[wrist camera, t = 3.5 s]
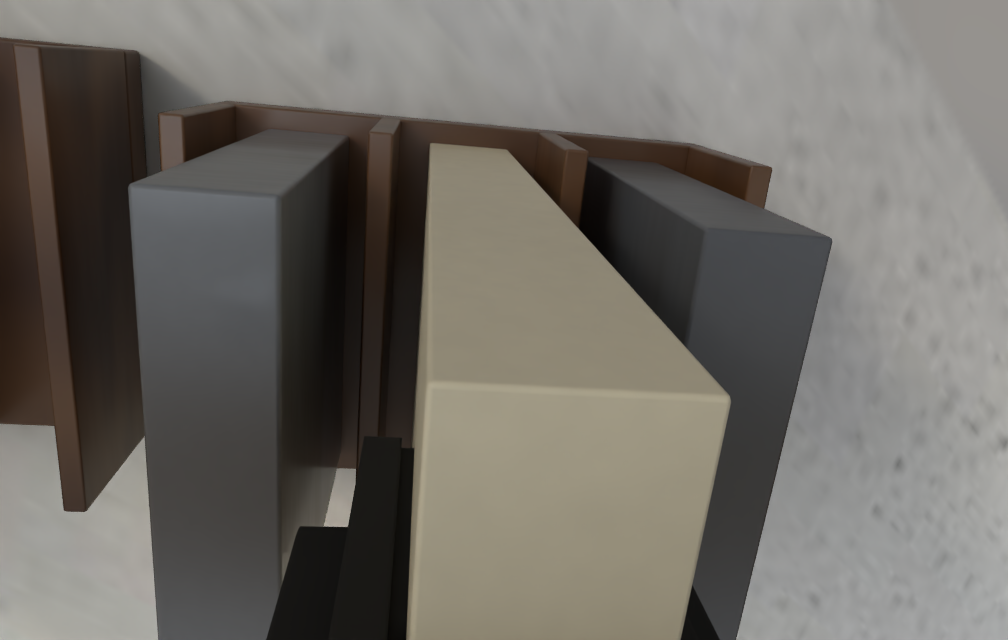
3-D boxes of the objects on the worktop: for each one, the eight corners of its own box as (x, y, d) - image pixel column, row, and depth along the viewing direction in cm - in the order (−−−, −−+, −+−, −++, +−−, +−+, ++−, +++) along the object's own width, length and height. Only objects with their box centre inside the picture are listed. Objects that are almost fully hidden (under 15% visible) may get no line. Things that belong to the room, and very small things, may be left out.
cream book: (429, 142, 19) (426, 381, 5) (507, 149, 19) (735, 397, 5) (410, 456, 22) (371, 1203, 7) (478, 458, 22) (565, 1186, 8)
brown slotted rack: (225, 100, 19) (19, 135, 9) (694, 143, 20) (921, 211, 11) (233, 447, 22) (86, 734, 13) (638, 462, 23) (777, 728, 14)
